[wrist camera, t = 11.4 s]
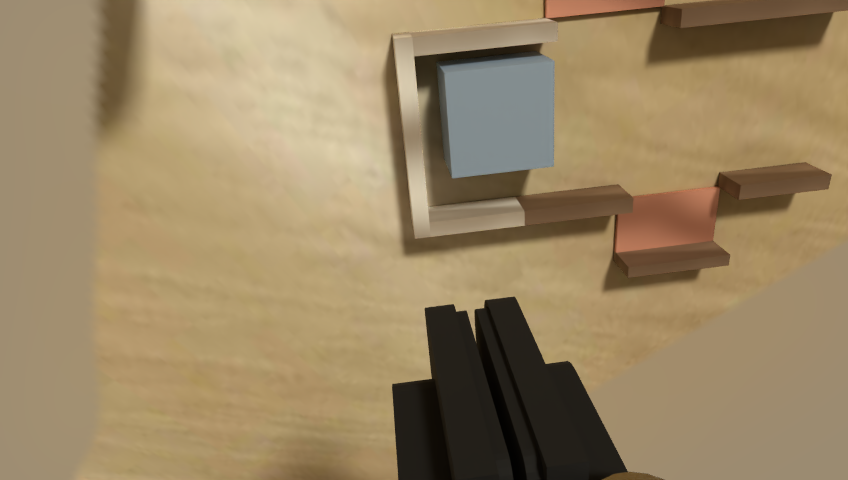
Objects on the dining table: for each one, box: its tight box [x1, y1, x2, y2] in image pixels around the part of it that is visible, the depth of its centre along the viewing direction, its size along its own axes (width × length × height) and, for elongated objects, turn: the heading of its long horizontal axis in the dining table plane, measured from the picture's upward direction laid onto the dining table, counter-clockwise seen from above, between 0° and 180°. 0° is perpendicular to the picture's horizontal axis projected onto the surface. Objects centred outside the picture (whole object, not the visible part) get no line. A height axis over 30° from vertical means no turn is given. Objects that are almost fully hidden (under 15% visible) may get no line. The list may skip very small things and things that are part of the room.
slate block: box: [436, 51, 554, 178], centre depth 35 cm, size 6×6×4 cm
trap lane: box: [392, 0, 848, 278], centre depth 36 cm, size 22×27×2 cm
